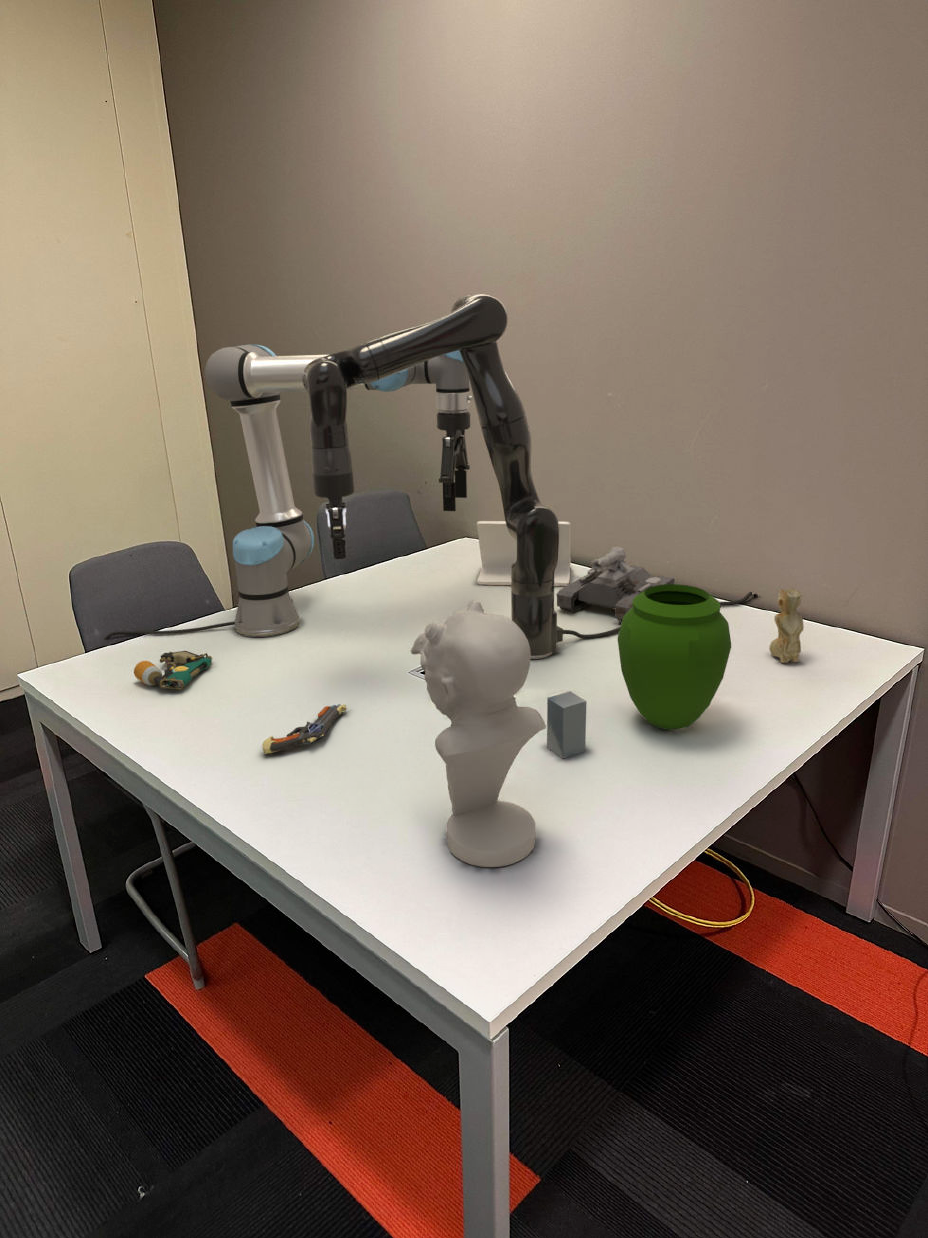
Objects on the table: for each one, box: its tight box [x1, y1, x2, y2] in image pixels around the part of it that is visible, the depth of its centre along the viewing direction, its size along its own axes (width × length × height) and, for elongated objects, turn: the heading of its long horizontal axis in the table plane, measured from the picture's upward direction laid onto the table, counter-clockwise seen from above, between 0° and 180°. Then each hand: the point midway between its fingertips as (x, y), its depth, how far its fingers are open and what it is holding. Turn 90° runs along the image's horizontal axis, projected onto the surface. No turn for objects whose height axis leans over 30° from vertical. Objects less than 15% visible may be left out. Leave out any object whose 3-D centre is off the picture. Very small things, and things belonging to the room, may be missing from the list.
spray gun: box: [133, 650, 213, 690], centre depth 180 cm, size 4×17×15 cm
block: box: [546, 691, 588, 759], centre depth 146 cm, size 5×5×10 cm
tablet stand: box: [476, 520, 572, 587], centre depth 236 cm, size 18×25×17 cm
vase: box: [616, 583, 732, 731], centre depth 151 cm, size 20×20×24 cm
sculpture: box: [768, 587, 805, 664], centre depth 178 cm, size 6×7×15 cm
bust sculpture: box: [410, 599, 547, 868], centre depth 121 cm, size 16×24×35 cm
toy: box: [556, 546, 676, 622], centre depth 212 cm, size 25×20×15 cm
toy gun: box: [262, 703, 348, 755], centre depth 155 cm, size 3×19×10 cm
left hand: (455, 504), depth 199 cm, fingers open, 13 cm apart
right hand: (340, 552), depth 167 cm, fingers open, 8 cm apart
